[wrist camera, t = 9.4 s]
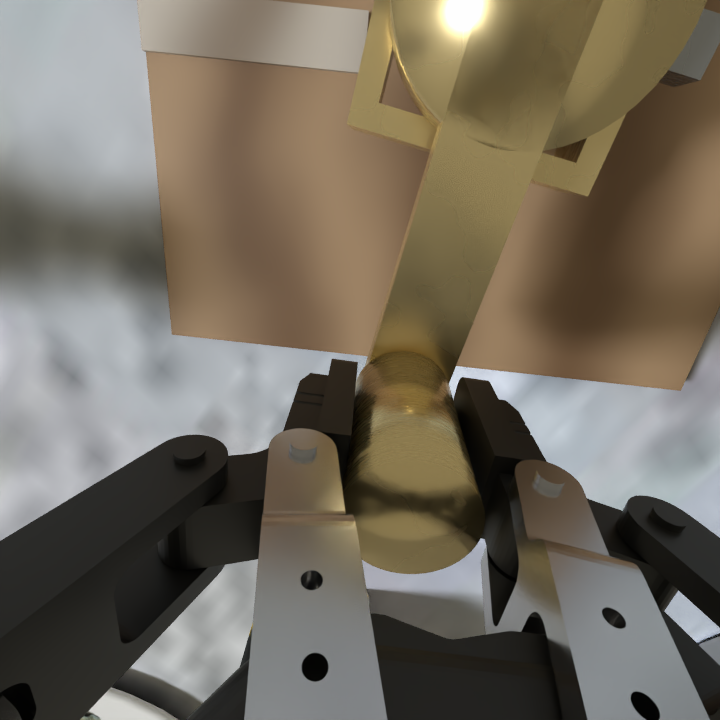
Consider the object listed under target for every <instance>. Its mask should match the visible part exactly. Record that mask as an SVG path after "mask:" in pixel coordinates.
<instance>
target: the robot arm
mask: <svg viewBox="0 0 720 720" xmlns="http://www.w3.org/2000/svg"><path fill="white" fill-rule="evenodd" d="M357 364H358V362H352V361H345V360H337V359H332V361H331V366H330V371H329V375H320V374H313V373H310V374H309V375H308V376H306V377H305V378H303V379H302V380H301V381H300V383H299V386H298V389H297V392H296V395H295V398H294V402H293V404H292V407H291V410H290V413H289V416H288V418H287V421H286V424H285V427H284V430H283V432H281V433H279V434H277V435H276V436H275V437H274V438H273V439H272V440H271V442H270V444H269V448H268V449H266V450H263V451H260V452H257V453H252V454H244V455H232V456H228V451H227V448H226V447H225V445H224V444H223V443H222V442H220V441H219V440H217V439H215V438H212V437H209V436H204V435H185V436H180V437H176V438H173V439H170V440H168V441H166V442H164V443H162V444H161V445H159V446H157V447H156V448H154V449H152V450H151V451H149V452H147V453H146V454H144V455H142V456H141V457H139V458H137V459H136V460H134V461H132V462H131V463H129V464H127V465H126V466H124V467H122V468H121V469H119V470H117V471H116V472H114V473H112V474H111V475H109V476H107V477H106V478H104V479H102V480H101V481H99V482H97V483H96V484H94V485H92V486H91V487H89V488H87V489H86V490H84V491H83V492H81V493H79V494H78V495H76V496H74V497H73V498H71V499H69V500H68V501H66V502H64V503H63V504H61V505H59V506H58V507H56V508H54V509H53V510H51V511H49V512H48V513H46V514H44V515H43V516H41V517H39V518H38V519H36V520H34V521H33V522H31V523H29V524H28V525H26V526H24V527H23V528H21V529H19V530H18V531H16V532H14V533H13V534H11V535H9V536H8V537H6V538H4V539H3V540H1V541H0V720H80V719H81V718H82V717H83V716H84V715H85V714H86V713H87V712H88V711H89V710H90V709H91V708H92V707H93V706H94V705H95V704H96V703H97V702H98V700H99V699H100V698H101V697H102V696H103V695H104V694H105V693H106V692H107V691H108V690H109V689H110V688H111V687H112V686H113V685H114V684H115V683H116V682H117V680H118V679H119V678H120V677H121V676H122V675H123V674H124V673H125V672H126V671H127V670H128V669H129V668H130V667H131V666H132V665H133V664H134V663H135V662H136V660H137V659H138V658H139V657H140V656H141V655H142V654H143V653H144V652H145V651H146V650H147V649H148V648H149V647H150V646H151V645H152V644H153V643H154V642H155V640H156V639H157V638H158V637H159V636H160V635H161V634H162V633H163V632H164V631H165V630H166V629H167V628H168V627H169V626H170V625H171V624H172V623H173V622H174V620H175V619H176V618H177V617H178V616H179V615H180V614H181V613H182V612H183V611H184V610H185V609H186V608H187V607H188V606H189V605H190V604H191V603H192V602H193V600H194V599H195V598H196V597H197V596H198V595H199V594H200V593H201V592H202V591H203V590H204V589H205V588H206V587H207V586H208V585H209V584H210V583H211V582H212V580H213V579H214V578H215V577H216V576H217V575H218V574H219V573H220V572H221V570H222V569H223V567H224V565H225V564H231V563H237V562H243V561H249V560H255V559H258V569H257V580H256V592H255V603H254V614H253V626H252V637H251V649H250V659H249V660H248V661H246V662H245V663H244V664H243V665H242V666H241V667H240V668H239V669H238V670H236V671H235V672H234V673H233V674H232V675H231V676H230V677H229V678H228V679H227V680H226V681H225V682H224V683H223V684H222V685H221V686H220V687H219V688H218V689H217V690H216V691H215V692H214V693H213V694H212V695H211V696H210V697H209V698H208V699H207V700H206V701H205V702H204V703H203V704H202V705H201V706H200V707H199V708H198V709H196V710H195V711H194V712H193V713H192V714H191V715H190V716H189V717H188V718H187V719H186V720H720V637H716V638H713V639H711V640H708V641H706V642H703V643H701V644H699V645H698V644H697V643H696V642H695V641H694V640H693V639H692V638H691V637H690V636H689V635H688V634H687V633H686V632H685V631H684V630H683V629H682V628H681V627H680V626H679V625H678V624H677V623H676V622H675V621H673V620H672V619H671V618H670V617H669V616H668V615H667V614H666V613H665V612H664V611H665V609H666V608H667V606H668V605H669V603H670V602H671V600H672V599H673V597H674V596H675V594H676V593H677V591H678V590H679V591H680V592H681V593H682V594H683V595H684V596H685V597H687V598H688V599H689V600H690V601H691V602H692V603H693V604H694V605H695V606H697V607H698V608H699V609H700V610H701V611H702V612H703V613H704V614H705V615H707V616H708V617H709V618H710V619H711V620H712V621H713V622H714V623H715V624H716V625H718V626H719V627H720V538H719V537H718V536H717V535H715V534H714V533H712V532H711V531H710V530H708V529H707V528H706V527H704V526H703V525H702V524H700V523H699V522H698V521H696V520H695V519H694V518H692V517H691V516H690V515H688V514H687V513H685V512H684V511H682V510H681V509H679V508H677V507H676V506H674V505H672V504H670V503H668V502H665V501H663V500H660V499H657V498H653V497H649V496H634V497H631V498H630V499H629V500H628V502H627V504H626V506H625V508H624V509H623V511H621V510H618V509H615V508H612V507H609V506H606V505H603V504H601V503H598V502H595V501H592V500H589V499H587V498H586V496H585V493H584V491H583V488H582V486H581V485H580V483H579V482H578V481H577V480H576V479H575V478H574V477H573V476H572V475H571V474H569V473H568V472H567V471H565V470H563V469H562V468H560V467H558V466H556V465H553V464H551V463H548V462H546V460H545V458H544V456H543V454H542V453H541V451H540V449H539V447H538V446H537V444H536V442H535V440H534V438H533V437H532V435H530V431H529V429H528V428H527V426H526V425H525V422H524V421H523V419H522V417H521V415H520V413H519V412H518V411H517V410H516V409H515V408H514V407H512V406H511V405H510V404H509V403H508V402H507V401H505V400H498V398H497V396H496V394H495V392H494V390H493V388H492V386H491V384H490V382H489V381H485V380H478V379H471V378H464V377H462V378H461V379H460V380H459V383H458V385H457V389H456V393H455V396H454V400H453V401H454V405H455V408H456V412H457V415H458V419H459V422H460V426H461V429H462V433H463V436H464V440H465V443H466V447H467V450H468V454H469V457H470V461H471V464H472V468H473V471H474V475H475V478H476V482H477V485H478V489H479V492H480V496H481V499H482V503H483V506H484V510H485V526H484V530H483V534H482V536H481V538H483V539H485V542H486V548H485V551H484V553H483V556H482V559H481V573H482V588H483V604H484V620H485V635H481V636H475V637H469V638H462V639H454V640H452V639H446V638H443V637H441V636H438V635H435V634H433V633H430V632H427V631H425V630H422V629H420V628H417V627H414V626H412V625H409V624H406V623H404V622H401V621H399V620H396V619H393V618H391V617H388V616H386V615H379V614H371V613H370V609H369V603H368V596H367V590H366V584H365V578H364V572H363V565H362V559H361V553H360V547H359V540H358V534H357V528H356V522H355V518H354V516H353V514H346V512H345V505H344V498H343V491H342V480H343V477H344V474H345V472H346V466H347V460H348V454H349V447H350V441H351V434H352V422H353V411H354V399H355V387H356V376H357Z"/></svg>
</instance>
